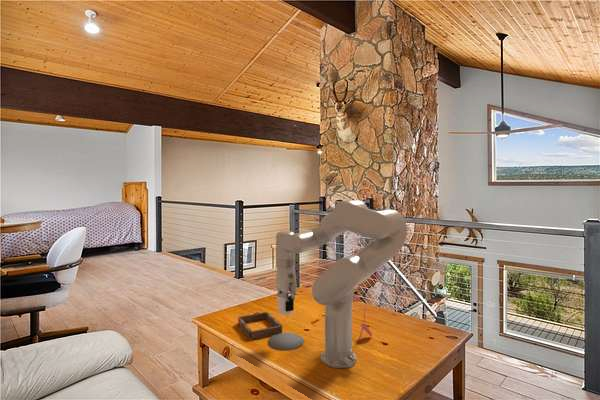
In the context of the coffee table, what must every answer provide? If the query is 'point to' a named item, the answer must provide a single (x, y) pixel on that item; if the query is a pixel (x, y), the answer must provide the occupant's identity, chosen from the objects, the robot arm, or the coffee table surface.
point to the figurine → (356, 299)
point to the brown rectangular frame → (262, 332)
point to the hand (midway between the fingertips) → (285, 307)
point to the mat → (286, 341)
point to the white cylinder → (282, 304)
